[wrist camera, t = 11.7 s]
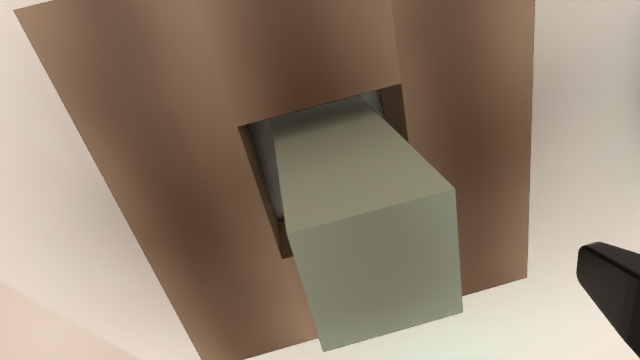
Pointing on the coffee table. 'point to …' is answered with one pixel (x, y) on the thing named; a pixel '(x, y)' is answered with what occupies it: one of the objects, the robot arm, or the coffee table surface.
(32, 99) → the coffee table surface
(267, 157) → the coffee table surface
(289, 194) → the sage peg
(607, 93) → the coffee table surface
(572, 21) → the coffee table surface
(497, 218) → the walnut well block
